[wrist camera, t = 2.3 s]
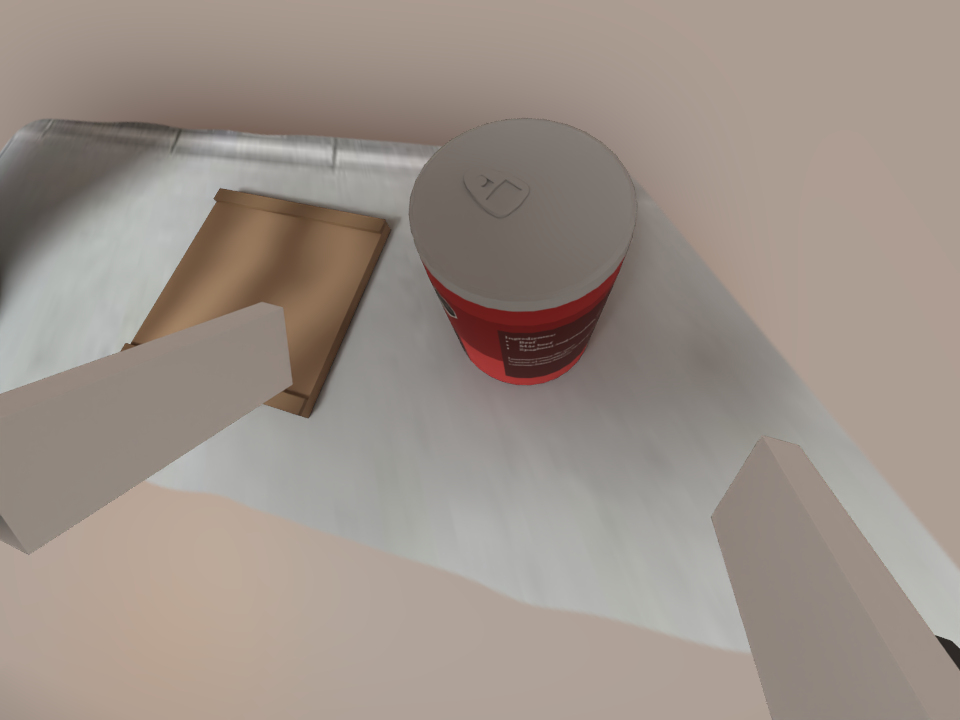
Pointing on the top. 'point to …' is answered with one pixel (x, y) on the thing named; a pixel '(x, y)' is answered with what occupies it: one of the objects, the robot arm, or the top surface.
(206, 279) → the trivet
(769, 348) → the top surface
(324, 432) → the top surface
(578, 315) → the canned food
